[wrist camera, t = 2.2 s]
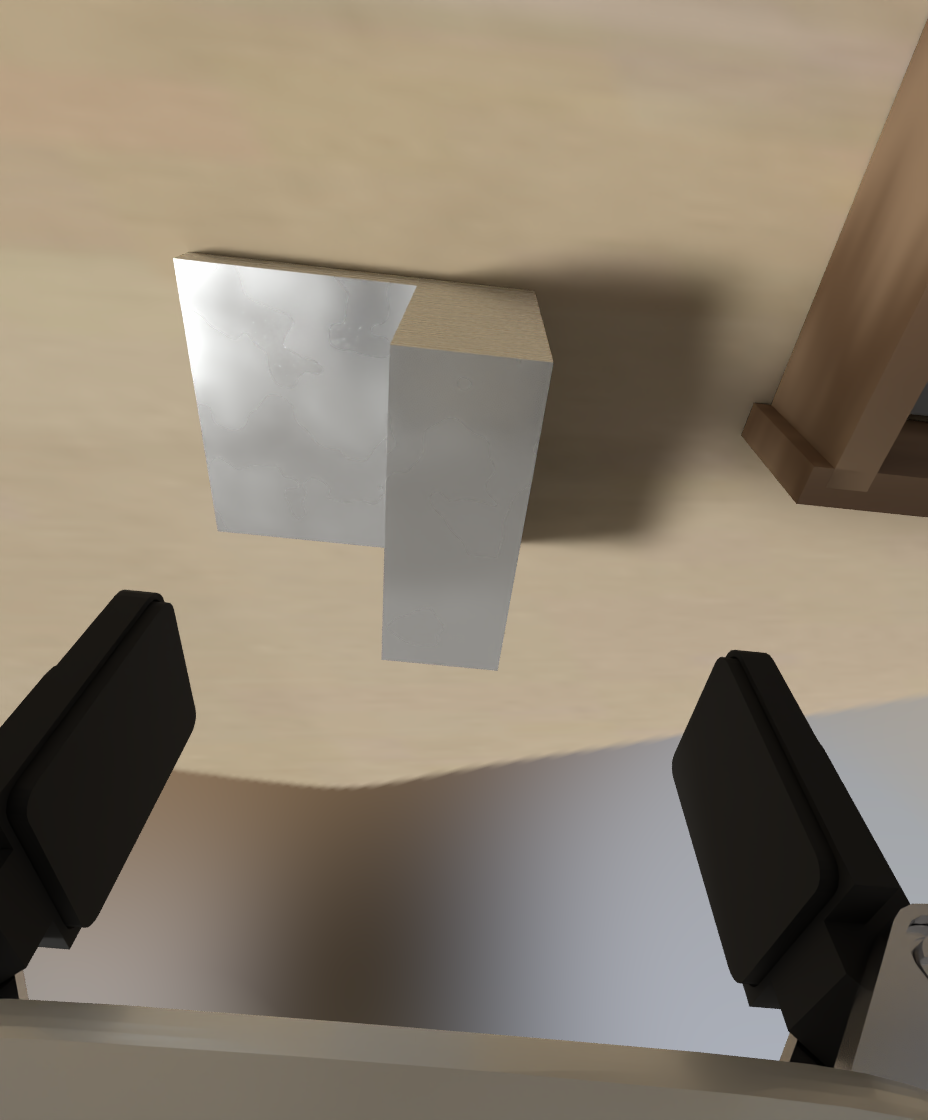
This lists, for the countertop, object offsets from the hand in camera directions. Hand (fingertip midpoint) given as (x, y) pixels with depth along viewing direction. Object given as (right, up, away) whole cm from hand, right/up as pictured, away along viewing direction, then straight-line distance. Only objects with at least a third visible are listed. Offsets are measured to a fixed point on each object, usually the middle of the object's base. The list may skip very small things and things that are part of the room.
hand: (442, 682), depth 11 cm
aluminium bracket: (-3, +6, +8) cm, 10 cm away
